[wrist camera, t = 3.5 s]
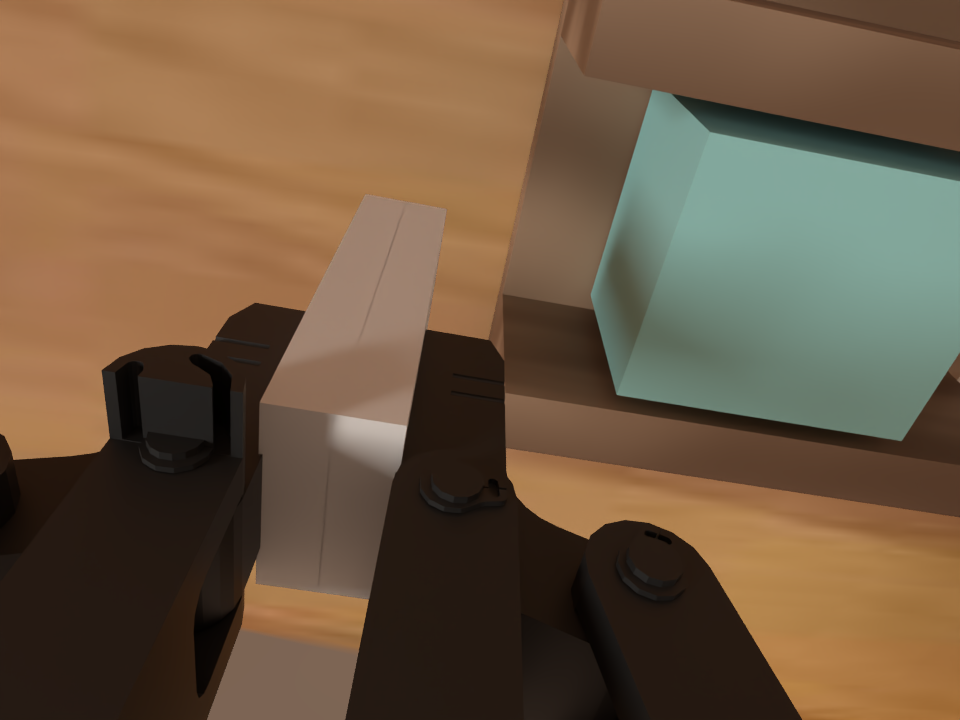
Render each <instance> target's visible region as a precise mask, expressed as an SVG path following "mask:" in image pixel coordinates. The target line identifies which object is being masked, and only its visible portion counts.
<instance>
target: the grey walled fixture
mask: <svg viewBox="0 0 960 720" xmlns="http://www.w3.org/2000/svg"><path fill="white" fill-rule="evenodd" d="M652 90H656V91H661V92H666V93H671V94H676V95H681V96H686V97H691V98H696V99H701V100H706V101H711V102H716V103H721V104H726V105H731V106H736V107H741V108H746V109H751V110H756V111H761V112H766V113H771V114H776V115H781V116H786V117H791V118H796V119H801V120H806V121H811V122H816V123H821V124H825V125H830V126H835V127H840V128H845V129H850V130H855V131H860V132H865V133H870V134H875V135H880V136H885V137H890V138H895V139H900V140H905V141H910V142H915V143H920V144H925V145H930V146H935V147H940V148H945V149H950V150H955V151H960V0H564V2H563V7H562V11H561V16H560V20H559V25H558V29H557V34H556V38H555V43H554V47H553V52H552V56H551V61H550V65H549V70H548V74H547V79H546V83H545V88H544V92H543V97H542V101H541V106H540V110H539V115H538V119H537V124H536V128H535V133H534V137H533V142H532V146H531V151H530V155H529V160H528V164H527V169H526V174H525V178H524V183H523V187H522V192H521V196H520V201H519V205H518V210H517V214H516V219H515V223H514V228H513V232H512V237H511V241H510V246H509V250H508V255H507V259H506V264H505V268H504V273H503V277H502V282H501V286H500V291H499V295H498V300H497V304H496V309H495V313H494V318H493V322H492V327H491V331H490V336H489V340H490V341H491V342H492V343H493V345H494V346H495V348H496V349H497V351H498V352H499V354H500V355H501V357H502V358H503V360H504V368H505V383H504V386H505V402H504V404H505V433H506V448H510V449H516V450H523V451H529V452H536V453H542V454H549V455H555V456H562V457H569V458H575V459H582V460H588V461H595V462H601V463H608V464H614V465H621V466H628V467H634V468H641V469H647V470H654V471H660V472H667V473H673V474H680V475H686V476H693V477H700V478H706V479H713V480H719V481H726V482H732V483H739V484H745V485H752V486H759V487H765V488H772V489H778V490H785V491H791V492H798V493H804V494H811V495H817V496H824V497H831V498H837V499H844V500H850V501H857V502H863V503H870V504H876V505H883V506H890V507H896V508H903V509H909V510H916V511H922V512H929V513H935V514H942V515H949V516H955V517H960V353H959V354H958V356H957V357H956V359H955V361H954V362H953V364H952V365H951V367H950V368H949V370H948V371H947V373H946V374H945V376H944V377H943V379H942V380H941V382H940V383H939V385H938V386H937V388H936V390H935V391H934V393H933V394H932V396H931V397H930V399H929V400H928V402H927V403H926V405H925V406H924V408H923V409H922V411H921V412H920V414H919V415H918V417H917V418H916V420H915V422H914V423H913V425H912V426H911V428H910V429H909V431H908V432H907V434H906V435H905V437H904V438H903V440H902V441H898V440H892V439H886V438H880V437H874V436H868V435H861V434H855V433H849V432H843V431H837V430H830V429H824V428H818V427H812V426H806V425H799V424H793V423H787V422H781V421H775V420H768V419H762V418H756V417H750V416H744V415H737V414H731V413H725V412H719V411H713V410H707V409H700V408H694V407H688V406H682V405H676V404H669V403H663V402H657V401H651V400H645V399H638V398H632V397H626V396H620V395H617V394H616V390H615V386H614V383H613V379H612V375H611V371H610V367H609V364H608V360H607V356H606V352H605V348H604V344H603V341H602V337H601V333H600V329H599V325H598V322H597V318H596V314H595V310H594V306H593V302H592V299H591V292H592V289H593V285H594V282H595V279H596V275H597V272H598V269H599V265H600V262H601V259H602V256H603V252H604V249H605V246H606V242H607V239H608V236H609V232H610V229H611V226H612V222H613V219H614V216H615V213H616V209H617V206H618V203H619V199H620V196H621V193H622V189H623V186H624V183H625V179H626V176H627V173H628V170H629V166H630V163H631V160H632V156H633V153H634V150H635V146H636V143H637V140H638V136H639V133H640V130H641V127H642V123H643V120H644V117H645V113H646V110H647V107H648V103H649V100H650V97H651V93H652Z"/></svg>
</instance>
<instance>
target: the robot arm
mask: <svg viewBox="0 0 960 720" xmlns="http://www.w3.org/2000/svg"><path fill="white" fill-rule="evenodd" d="M446 212H447V209H444V208H439V207H433V206H428V205H422V204H417V203H411V202H406V201H401V200H395V199H390V198H384V197H379V196H374V195H368V194H365V196H364V198H363V200H362V202H361V204H360V206H359V208H358V210H357V212H356V214H355V216H354V218H353V220H352V222H351V223H350V225H349V227H348V229H347V231H346V233H345V235H344V237H343V239H342V241H341V243H340V245H339V247H338V249H337V251H336V253H335V255H334V257H333V259H332V261H331V263H330V265H329V267H328V269H327V271H326V273H325V275H324V277H323V279H322V281H321V283H320V285H319V286H318V288H317V290H316V292H315V294H314V296H313V298H312V300H311V302H310V304H309V306H308V308H307V310H306V311H300V310H294V309H288V308H282V307H277V306H271V305H265V304H259V303H254V304H252V305H250V306H249V307H247V308H245V309H243V310H241V311H240V312H238V313H236V314H234V315H232V316H230V317H229V318H228V320H227V321H226V323H225V324H224V326H223V327H222V328H221V330H220V331H219V333H218V334H217V336H216V339H215V341H214V340H213V341H212V343H211V344H210V346H209V347H208V348H207V349H206V348H202V347H199V346H183V345H166V346H159V347H151V348H144V349H141V350H138V351H136V352H133V353H130V354H127V355H124V356H122V357H119V358H118V359H116V360H115V361H114V362H112V363H111V364H110V365H108V366H107V367H106V368H104V369H103V370H102V377H103V385H104V393H105V401H106V409H107V418H108V426H109V434H110V439H109V440H108V442H107V443H106V444H105V446H104V447H103V448H102V449H101V451H100V452H97V453H92V454H84V455H77V456H67V457H52V458H36V459H21V460H13V456H12V452H11V449H10V447H9V445H8V443H7V441H6V439H5V436H3V435H1V434H0V720H207V718H208V715H209V712H210V709H211V706H212V704H213V701H214V699H215V696H216V693H217V690H218V688H219V685H220V682H221V679H222V677H223V674H224V671H225V669H226V666H227V663H228V660H229V658H230V655H231V652H232V649H233V647H234V644H235V641H236V639H237V636H238V633H239V630H240V628H241V625H242V619H243V611H244V589H245V586H246V583H247V581H248V578H249V576H250V573H251V570H252V568H253V565H254V563H255V560H256V584H263V585H270V586H277V587H284V588H291V589H298V590H306V591H313V592H320V593H327V594H334V595H341V596H348V597H356V598H363V599H369V602H368V608H367V613H366V618H365V623H364V628H363V633H362V638H361V643H360V648H359V653H358V658H357V663H356V669H355V674H354V679H353V684H352V689H351V694H350V699H349V704H348V709H347V714H346V719H345V720H802V718H801V717H800V715H799V714H798V712H797V710H796V709H795V707H794V705H793V704H792V702H791V700H790V699H789V697H788V695H787V694H786V692H785V690H784V689H783V687H782V685H781V684H780V682H779V680H778V679H777V677H776V676H775V674H774V672H773V671H772V669H771V667H770V666H769V664H768V662H767V661H766V659H765V657H764V656H763V654H762V652H761V651H760V649H759V647H758V646H757V644H756V642H755V641H754V639H753V638H752V636H751V634H750V633H749V631H748V629H747V628H746V626H745V624H744V623H743V621H742V619H741V618H740V616H739V614H738V613H737V611H736V609H735V608H734V606H733V604H732V603H731V601H730V600H729V598H728V596H727V595H726V593H725V591H724V590H723V588H722V586H721V585H720V583H719V581H718V580H717V578H716V576H715V575H714V573H713V571H712V570H711V568H710V567H709V565H708V564H707V563H706V562H705V561H704V559H703V558H702V557H701V556H700V555H699V553H698V552H697V551H696V550H695V549H694V548H693V547H692V546H691V545H689V544H688V543H686V542H685V541H684V540H682V539H681V538H679V537H678V536H677V535H675V534H674V533H672V532H670V531H667V530H665V529H662V528H660V527H657V526H655V525H652V524H650V523H644V522H636V521H628V520H623V521H619V522H614V523H609V524H605V525H603V526H602V527H601V528H600V529H598V530H597V531H596V532H594V533H593V534H592V535H591V536H590V539H589V540H588V539H586V538H583V537H581V536H579V535H576V534H574V533H571V532H569V531H566V530H564V529H562V528H559V527H557V526H555V525H553V524H551V523H549V522H547V521H545V520H543V519H541V518H540V517H538V516H537V515H536V514H534V513H533V512H532V511H530V510H529V509H528V508H526V507H525V506H524V505H523V503H522V502H521V501H520V500H519V499H518V498H517V497H516V494H515V491H514V487H513V484H512V482H511V481H510V480H509V479H508V477H507V473H506V433H505V404H504V402H505V386H504V383H505V368H504V360H503V358H502V357H501V355H500V354H499V352H498V351H497V349H496V348H495V346H494V345H493V343H492V342H491V341H490V340H484V339H478V338H473V337H467V336H461V335H455V334H449V333H443V332H437V331H432V330H427V327H428V321H429V315H430V309H431V303H432V297H433V291H434V285H435V279H436V273H437V267H438V260H439V254H440V248H441V242H442V236H443V230H444V224H445V218H446Z"/></svg>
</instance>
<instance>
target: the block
mask: <svg viewBox="0 0 960 720" xmlns="http://www.w3.org/2000/svg"><path fill="white" fill-rule="evenodd" d="M591 299H592V302H593V306H594V310H595V314H596V318H597V322H598V325H599V329H600V333H601V337H602V341H603V344H604V348H605V352H606V356H607V360H608V364H609V367H610V371H611V375H612V379H613V383H614V386H615V390H616V394H617V395H620V396H626V397H632V398H638V399H645V400H651V401H657V402H663V403H669V404H676V405H682V406H688V407H694V408H700V409H707V410H713V411H719V412H725V413H731V414H737V415H744V416H750V417H756V418H762V419H768V420H775V421H781V422H787V423H793V424H799V425H806V426H812V427H818V428H824V429H830V430H837V431H843V432H849V433H855V434H861V435H868V436H874V437H880V438H886V439H892V440H898V441H902V440H903V438H904V437H905V435H906V434H907V432H908V431H909V429H910V428H911V426H912V425H913V423H914V422H915V420H916V418H917V417H918V415H919V414H920V412H921V411H922V409H923V408H924V406H925V405H926V403H927V402H928V400H929V399H930V397H931V396H932V394H933V393H934V391H935V390H936V388H937V386H938V385H939V383H940V382H941V380H942V379H943V377H944V376H945V374H946V373H947V371H948V370H949V368H950V367H951V365H952V364H953V362H954V361H955V359H956V357H957V356H958V354H959V353H960V151H955V150H950V149H945V148H940V147H935V146H930V145H925V144H920V143H915V142H910V141H905V140H900V139H895V138H890V137H885V136H880V135H875V134H870V133H865V132H860V131H855V130H850V129H845V128H840V127H835V126H830V125H825V124H821V123H816V122H811V121H806V120H801V119H796V118H791V117H786V116H781V115H776V114H771V113H766V112H761V111H756V110H751V109H746V108H741V107H736V106H731V105H726V104H721V103H716V102H711V101H706V100H701V99H696V98H691V97H686V96H681V95H676V94H671V93H666V92H661V91H656V90H652V93H651V97H650V100H649V103H648V107H647V110H646V113H645V117H644V120H643V123H642V127H641V130H640V133H639V136H638V140H637V143H636V146H635V150H634V153H633V156H632V160H631V163H630V166H629V170H628V173H627V176H626V179H625V183H624V186H623V189H622V193H621V196H620V199H619V203H618V206H617V209H616V213H615V216H614V219H613V222H612V226H611V229H610V232H609V236H608V239H607V242H606V246H605V249H604V252H603V256H602V259H601V262H600V265H599V269H598V272H597V275H596V279H595V282H594V285H593V289H592V292H591Z"/></svg>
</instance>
